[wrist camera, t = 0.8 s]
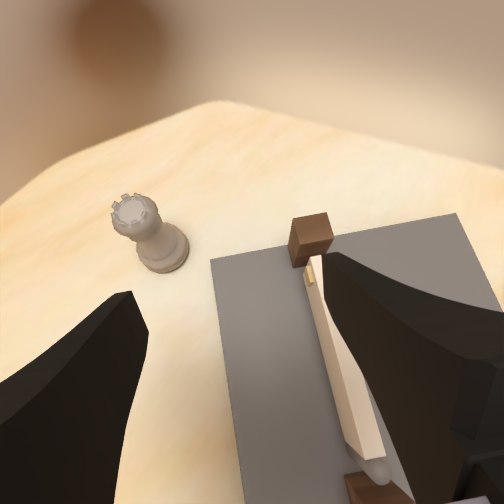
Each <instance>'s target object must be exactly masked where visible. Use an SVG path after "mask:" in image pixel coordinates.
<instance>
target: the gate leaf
mask: <svg viewBox="0 0 504 504" xmlns="http://www.w3.org/2000/svg"><path fill="white" fill-rule="evenodd" d="M303 278H304V282H305V286H306V290H307V294H308V298H309V302H310V306H311V310H312V314H313V318H314V321H315V325H316V329H317V333H318V337H319V341H320V345H321V349H322V353H323V357H324V361H325V365H326V369H327V373H328V376H329V380H330V384H331V388H332V392H333V396H334V400H335V404H336V408H337V412H338V416H339V420H340V424H341V427H342V431H343V435H344V439H345V441H346V442H347V447H346V448H347V452H348V454H349V455H350V456H351V457H352V458H353V459H354V461H355V462H356V463H357V464H358V465H359V466H360V467H361V468H362V469H363V470H364V471H365V473H366V474H367V475H368V476H369V477H370V478H371V479H372V480H373V481H374V482H375V483H376V484H378V485H386V484H388V483H389V482H390V480H391V477H392V471H391V468H390V466H389V464H388V463H387V462H386V461H385V460H384V459H382V458H381V457H383V456H386V453H385V449H384V446H383V442H382V439H381V436H380V432H379V429H378V425H377V422H376V418H375V415H374V412H373V408H372V405H371V401H370V398H369V395H368V391H367V388H366V384H365V381H364V377H363V374H362V372H361V370H360V368H359V366H358V365H357V363H356V361H355V359H354V358H353V356H352V354H351V352H350V350H349V349H348V347H347V345H346V343H345V342H344V340H343V338H342V336H341V335H340V333H339V331H338V329H337V327H336V326H335V324H334V322H333V320H332V318H331V315H330V313H329V310H328V308H327V305H326V303H325V300H324V291H323V275H322V258H321V255H317V256H312V257H310V259H309V261H308V263H307V266H306V268H305V270H304V273H303Z"/></svg>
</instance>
